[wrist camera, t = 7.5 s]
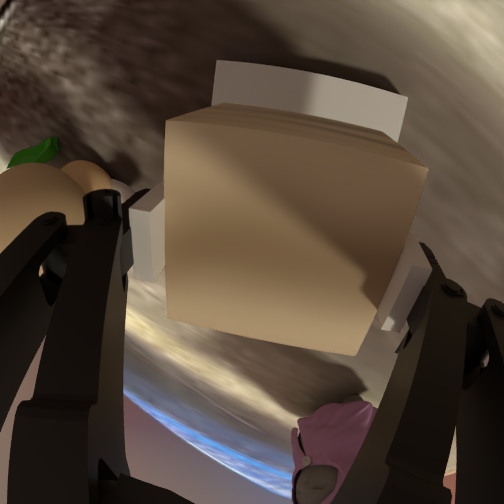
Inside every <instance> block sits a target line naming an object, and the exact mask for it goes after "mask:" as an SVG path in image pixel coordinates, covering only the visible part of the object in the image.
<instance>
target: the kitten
mask: <svg viewBox="0 0 504 504" xmlns="http://www.w3.org/2000/svg"><path fill="white" fill-rule="evenodd" d="M57 138H58V137H53V138H49V139H46V141H45V140H44V141H43V142H42V143H40V144H39V145H36V146H34V147H31V148H28V149H24V150H21V151H19V152H17V153H16V154H15V155H14V156H13V157H12V159H11V161H10V163H9V165H8V167H7V168H10V169H8V170H6V171H4V172H3V173H1V174H0V253H1V252H2V251H3V250H4V249H5V248H6V247H7V246H8V245H9V244H10V243H11V242H12V241H13V240H14V239H15V238H16V237H17V236H18V235H19V234H20V233H21V232H22V231H23V230H24V229H25V228H26V227H27V226H28V225H29V224H30V223H31V222H32V221H33V220H34V219H35V218H37V217H38V216H40V215H42V214H44V213H46V212H48V213H49V212H51V211H53V212H61V213H63V214H65V215H66V221H67V225H83V224H84V221H85V216H84V207H83V198H82V197H83V196H84V195H85V194H87V193H89V192H91V191H94V190H99V189H113V190H117V191H118V192H120V194H121V204H122V203H123V202H124V203H125V201H126V200H127V199H128V198H130V197H131V196H132V195H133V194H135V192H134V191H133V190H132V189H131V188H130V187H129V186H128V185H126V184H124V183H123V182H120V181H118V180H115V179H111V178H110V176H109V175H108V174H107V173H106V172H105V171H104V170H103V169H102V168H101V167H99V166H98V165H96V164H94V163H92V162H89V161H85V160H76V161H72V162H70V163H68V164H66V165H65V166H64V167H63V168H62V169H61V170H60V169H58V168H55V167H53V166H50V165H47V164H44V163H45V162H47V161H48V160H50V159H52V158H53V157H54V156H55V152H56V151H60V150H59V147H58V144H57ZM13 166H14V167H13ZM11 167H12V168H11ZM42 273H43V269H42V265H41V266H40V270H39V276H41V275H42Z"/></svg>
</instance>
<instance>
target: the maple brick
mask: <svg viewBox="0 0 504 504" xmlns="http://www.w3.org/2000/svg"><path fill="white" fill-rule="evenodd" d="M428 170H429V168H428V167H426V166H425V165H424V164H423V163H422V162H420V161H419V160H418V159H417V158H416V157H414V156H413V155H412V154H411V153H410V152H408V151H407V150H406V149H405V148H403V147H402V146H401V145H399V144H398V143H397V142H396V141H394V140H393V139H392V138H390V137H389V136H388V135H386V134H385V133H384V132H382V131H379V130H375V129H371V128H367V127H363V126H359V125H355V124H351V123H346V122H342V121H337V120H333V119H328V118H323V117H318V116H313V115H307V114H302V113H296V112H290V111H284V110H278V109H271V108H265V107H257V106H250V105H241V104H233V103H221V104H217V105H214V106H210V107H207V108H203V109H200V110H197V111H193V112H190V113H187V114H184V115H181V116H177V117H174V118H171V119H168V120H166V127H165V151H164V198H165V282H166V300H167V316H168V318H169V319H172V320H176V321H180V322H184V323H188V324H192V325H196V326H200V327H205V328H209V329H213V330H218V331H222V332H226V333H231V334H235V335H240V336H245V337H249V338H254V339H259V340H264V341H269V342H274V343H280V344H285V345H290V346H296V347H301V348H307V349H313V350H319V351H325V352H331V353H338V354H345V355H351V356H356V354H357V352H358V350H359V348H360V346H361V344H362V342H363V340H364V338H365V336H366V334H367V331H368V329H369V327H370V325H371V323H372V321H373V319H374V316H375V314H376V312H377V310H378V307H379V305H380V303H381V301H382V298H383V296H384V294H385V291H386V289H387V287H388V284H389V282H390V279H391V277H392V275H393V272H394V270H395V267H396V265H397V262H398V259H399V257H400V254H401V252H402V249H403V246H404V244H405V241H406V238H407V235H408V232H409V230H410V227H411V224H412V221H413V218H414V215H415V212H416V209H417V206H418V203H419V200H420V197H421V193H422V190H423V187H424V183H425V180H426V177H427V173H428Z"/></svg>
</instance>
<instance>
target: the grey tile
mask: <svg viewBox="0 0 504 504" xmlns="http://www.w3.org/2000/svg"><path fill="white" fill-rule="evenodd" d="M407 100H408V97H405V96H402V95H399V94H395V93H392V92H389V91H386V90H382V89H379V88H375V87H372V86H368V85H364V84H360V83H357V82H353V81H349V80H344V79H340V78H336V77H331V76H327V75H322V74H317V73H312V72H307V71H301V70H296V69H290V68H283V67H277V66H270V65H262V64H254V63H245V62H236V61H224V60H217V61H216V69H215V78H214V86H213V95H212V105H211V106H214V105H217V104H221V103H233V104H241V105H250V106H257V107H265V108H271V109H278V110H284V111H290V112H296V113H302V114H307V115H313V116H318V117H323V118H328V119H333V120H337V121H342V122H346V123H351V124H355V125H359V126H363V127H367V128H371V129H375V130H379V131H382V132H384V133H385V134H386V135H388V136H389V137H390V138H392V139H393V140H394V141H396V142H398V139H399V135H400V130H401V126H402V122H403V118H404V114H405V109H406V105H407Z"/></svg>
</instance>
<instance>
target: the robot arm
mask: <svg viewBox="0 0 504 504" xmlns="http://www.w3.org/2000/svg"><path fill="white" fill-rule="evenodd" d="M82 198H83V207H84V216H85V221H84V224H83V225H67V221H66V215H65V214H63V213H61V212H53V211H51V212H49V213H48V212H46V213H44V214H42V215H40V216H38V217H37V218H35V219H34V220H33V221H32V222H31V223H30V224H29V225H28V226H27V227H26V228H25V229H24V230H23V231H22V232H21V233H20V234H19V235H18V236H17V237H16V238H15V239H14V240H13V241H12V242H11V243H10V244H9V245H8V246H7V247H6V248H5V249H4V250H3V251H2V252H1V253H0V432H1V429H2V427H3V424H4V422H5V419H6V417H7V414H8V412H9V410H10V407H11V405H12V403H13V400H14V398H15V396H16V394H17V392H18V389H19V387H20V385H21V383H22V381H23V379H24V377H25V375H26V373H27V371H28V368H29V366H30V364H31V362H32V360H33V359H34V357H35V354H36V353H37V351H38V349H39V347H40V345H41V343H42V341H43V339H44V337H45V336H46V338H45V342H44V346H43V351H42V355H41V360H40V364H39V369H38V374H37V378H36V384H35V389H34V394H33V397H32V398H31V400H26V401H22V402H21V403H20V404H19V405H18V407H17V410H16V414H15V419H14V425H13V433H12V440H11V448H10V459H9V471H8V490H7V504H194V503H193V502H191V501H189V500H187V499H185V498H183V497H181V496H179V495H178V494H176V493H174V492H172V491H170V490H168V489H165V488H161V487H158V486H155V485H152V484H150V483H147V482H144V481H141V480H138V479H135V478H133V477H131V476H130V471H129V467H128V463H127V460H126V454H125V439H124V412H123V365H124V336H125V318H126V303H127V291H128V275H127V272H128V270H129V269H130V268H131V267H132V265H133V270H134V278H137V279H141V280H144V281H148V282H152V283H153V282H154V281H155V279H156V278H157V276H158V275H159V273H160V272H161V270H162V269H163V268H164V266H165V198H164V179H163V180H162V181H161V182H160V183H158V184H157V185H156V186H155V187H154V188H152V189H147V188H146V189H143V190H141V191H138V192H136V193H135V194H133V195H132V196H131V197H130V198H128V199H127V200H126V201H125V203H124V202H123V203H122V204H121V194H120V192H118V191H117V190H113V189H99V190H94V191H91V192H89V193H87V194H85V195H84V196H83V197H82ZM41 265H42V269H43V273H42V275H41V276H39V270H40V266H41ZM377 311H378V316H379V321H380V326H381V329H382V330H388V331H395V332H400V331H401V329H402V328H403V326H404V324H405V322H406V320H407V322H408V325H409V330H408V332H407V333H406V335H405V337H404V338H403V340H402V342H401V343H400V345H399V347H398V348H397V350H396V351H395V353H397V354H398V352H399V354H398V357H397V360H396V363H395V366H394V368H393V371H392V374H391V377H390V379H389V382H388V385H387V387H386V390H385V392H384V395H383V398H382V400H381V402H380V405H379V407H378V410H377V412H376V414H375V417H374V419H373V421H372V424H371V426H370V428H369V430H368V433H367V435H366V437H365V439H364V441H363V443H362V446H361V448H360V450H359V452H358V454H357V456H356V458H355V460H354V462H353V464H352V466H351V468H350V470H349V472H348V473H347V475H346V477H345V479H344V481H343V483H342V485H341V486H340V488H339V490H338V492H337V494H336V495H335V497H334V498H333V500H332V501H331V502H330V504H451V499H452V494H451V490H450V489H448V488H446V487H444V486H443V477H444V474H445V470H446V466H447V462H448V458H449V454H450V450H451V446H452V441H453V436H454V431H455V426H456V447H457V464H456V493H455V504H504V303H503V304H502V302H501V301H498V300H495V299H491V298H490V299H487V300H486V301H485V303H484V305H483V306H482V308H480V307H478V306H476V305H473V304H471V303H469V302H467V295H466V292H465V291H464V289H463V288H462V287H461V286H460V285H459V284H457V283H456V282H454V281H452V280H450V279H447V278H446V277H445V275H444V273H443V271H442V269H441V267H440V266H439V265H438V262H437V260H436V259H435V256H434V254H433V253H432V251H431V250H430V249H429V248H428V247H427V246H426V245H425V244H424V243H421V242H418V240H417V238H416V237H415V235H414V233H413V231H412V229H411V227H410V230H409V232H408V235H407V238H406V241H405V244H404V246H403V249H402V252H401V254H400V257H399V259H398V262H397V265H396V267H395V270H394V272H393V275H392V277H391V279H390V282H389V284H388V287H387V289H386V291H385V294H384V296H383V298H382V301H381V303H380V305H379V307H378V310H377ZM488 355H489V362H488V364H487V366H486V367H484V363H483V362H484V360H485V359H486V358H487V356H488Z"/></svg>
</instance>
